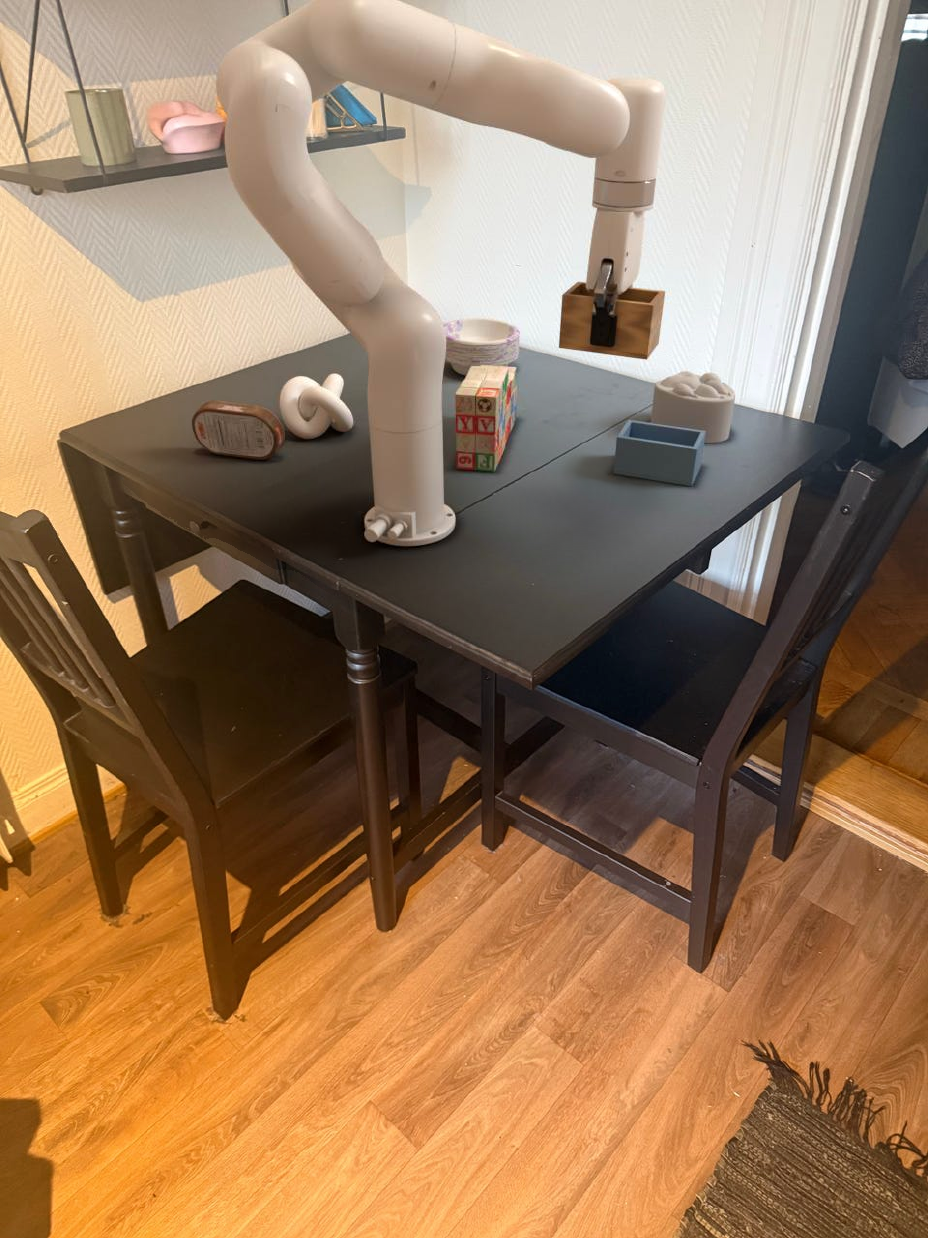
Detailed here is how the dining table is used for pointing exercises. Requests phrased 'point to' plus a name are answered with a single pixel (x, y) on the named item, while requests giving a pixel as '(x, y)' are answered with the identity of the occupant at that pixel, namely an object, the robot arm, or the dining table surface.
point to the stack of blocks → (484, 416)
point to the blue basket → (659, 452)
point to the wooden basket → (634, 321)
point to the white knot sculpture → (314, 406)
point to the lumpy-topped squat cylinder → (694, 404)
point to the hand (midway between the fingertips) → (609, 335)
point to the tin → (238, 430)
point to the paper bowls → (480, 343)
